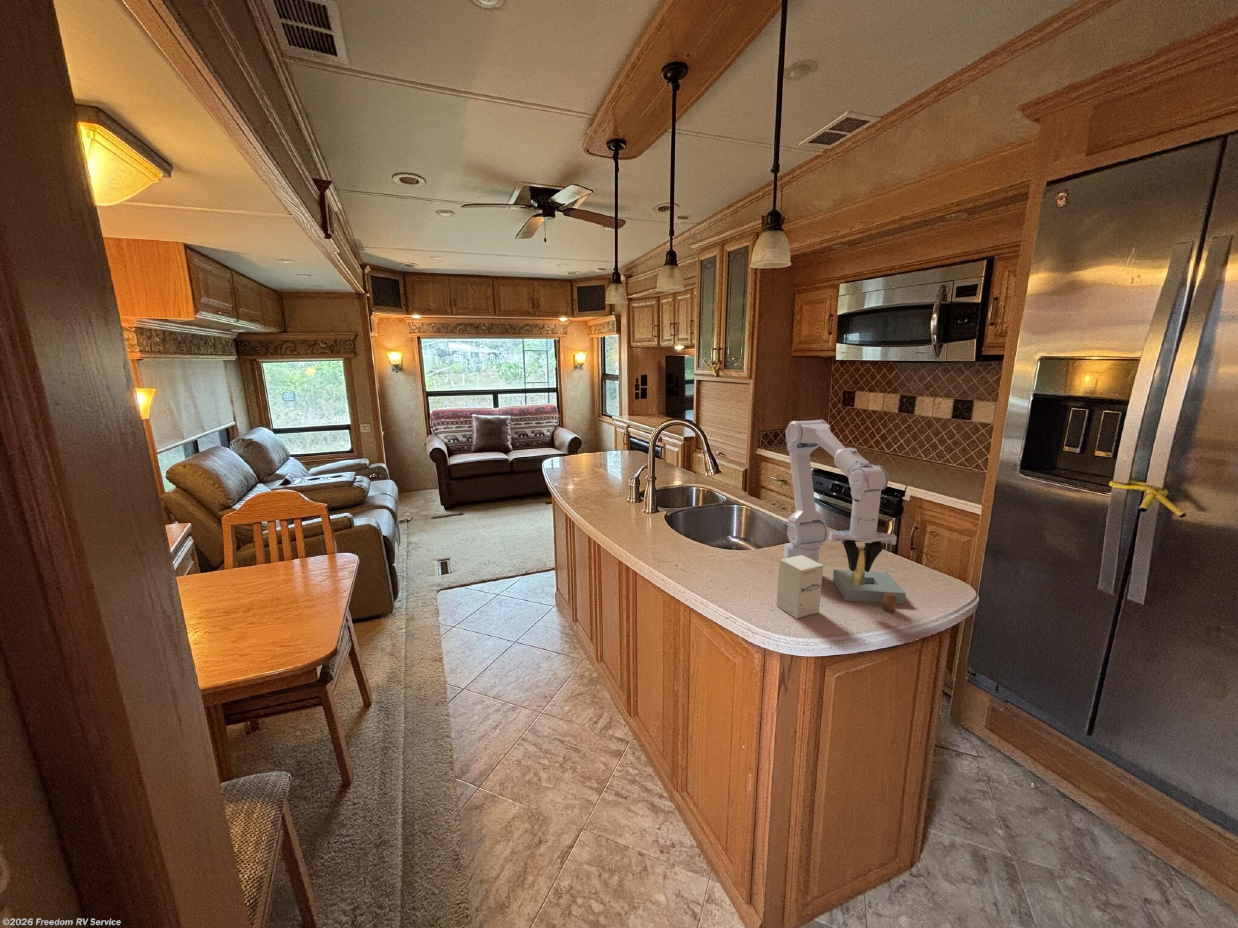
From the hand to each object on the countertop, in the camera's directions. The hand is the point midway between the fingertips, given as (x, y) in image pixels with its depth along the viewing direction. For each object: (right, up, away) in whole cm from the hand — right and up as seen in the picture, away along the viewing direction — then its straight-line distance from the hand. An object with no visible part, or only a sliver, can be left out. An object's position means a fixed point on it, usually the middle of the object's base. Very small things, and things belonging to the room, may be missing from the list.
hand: (858, 569), depth 118 cm
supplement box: (-14, -11, +2) cm, 18 cm away
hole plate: (+8, -8, +11) cm, 16 cm away
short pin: (+8, -10, +2) cm, 13 cm away
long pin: (0, -3, +1) cm, 3 cm away
